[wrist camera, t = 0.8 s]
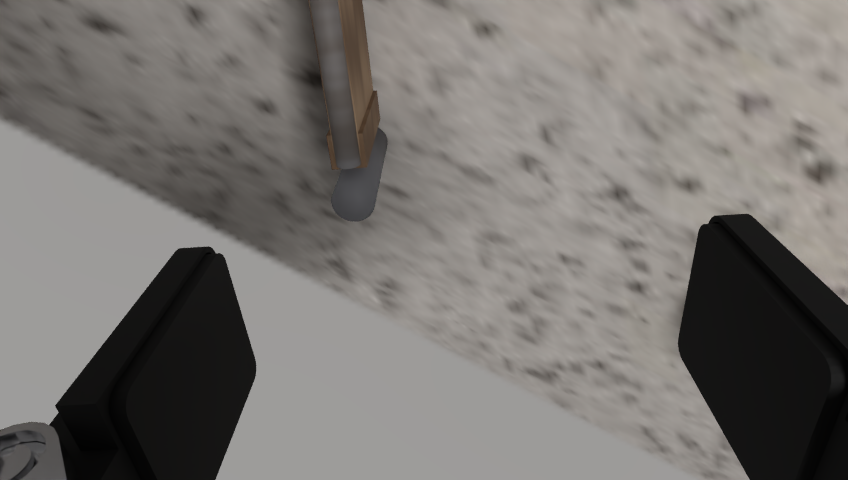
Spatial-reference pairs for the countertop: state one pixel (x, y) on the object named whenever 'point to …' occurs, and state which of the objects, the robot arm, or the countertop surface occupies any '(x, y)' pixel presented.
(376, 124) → the gate
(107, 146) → the countertop surface
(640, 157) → the countertop surface
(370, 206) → the post
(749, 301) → the robot arm
